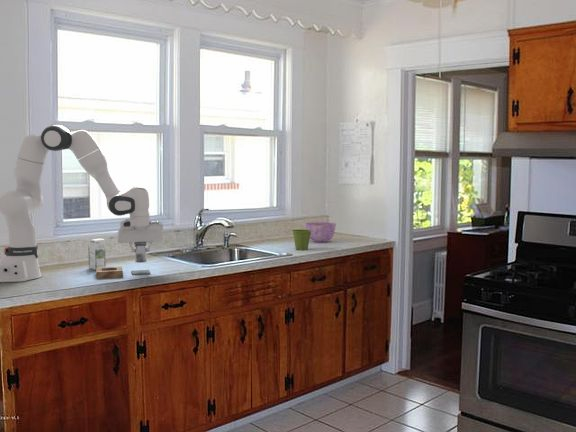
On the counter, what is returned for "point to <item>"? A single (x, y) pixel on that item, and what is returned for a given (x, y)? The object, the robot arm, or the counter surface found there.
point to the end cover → (140, 251)
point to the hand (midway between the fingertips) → (140, 251)
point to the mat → (140, 272)
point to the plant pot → (301, 238)
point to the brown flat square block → (109, 272)
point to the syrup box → (96, 253)
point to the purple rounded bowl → (321, 231)
